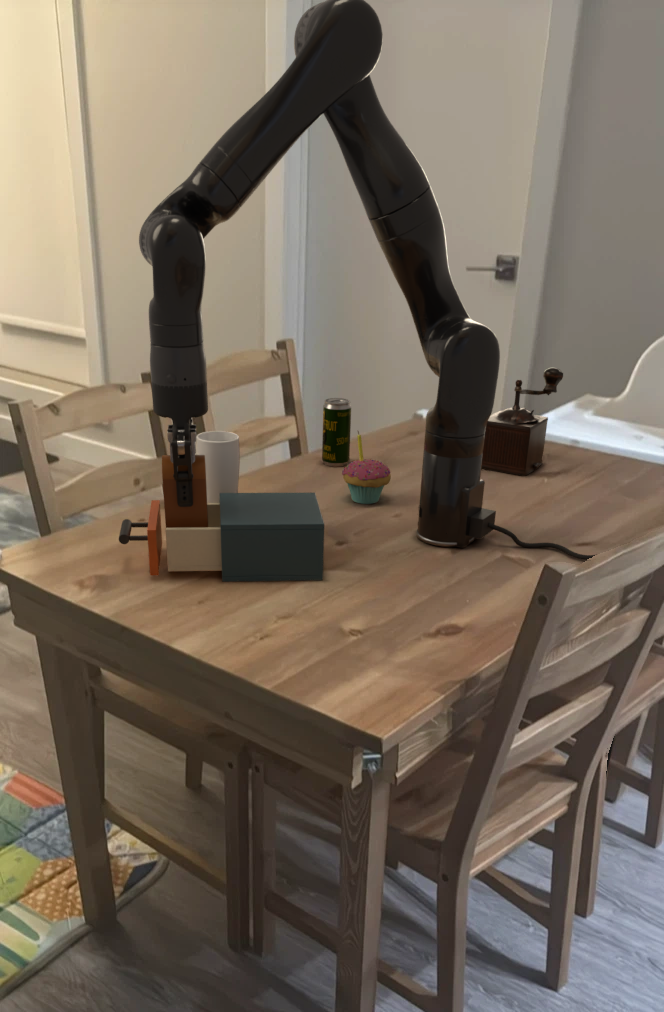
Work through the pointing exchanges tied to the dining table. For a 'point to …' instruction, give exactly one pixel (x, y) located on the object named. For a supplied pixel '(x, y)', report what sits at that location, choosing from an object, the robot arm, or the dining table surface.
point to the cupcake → (366, 478)
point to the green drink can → (336, 432)
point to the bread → (198, 510)
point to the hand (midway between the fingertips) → (185, 499)
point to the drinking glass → (220, 462)
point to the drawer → (180, 542)
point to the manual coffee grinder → (518, 433)
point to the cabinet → (271, 537)
